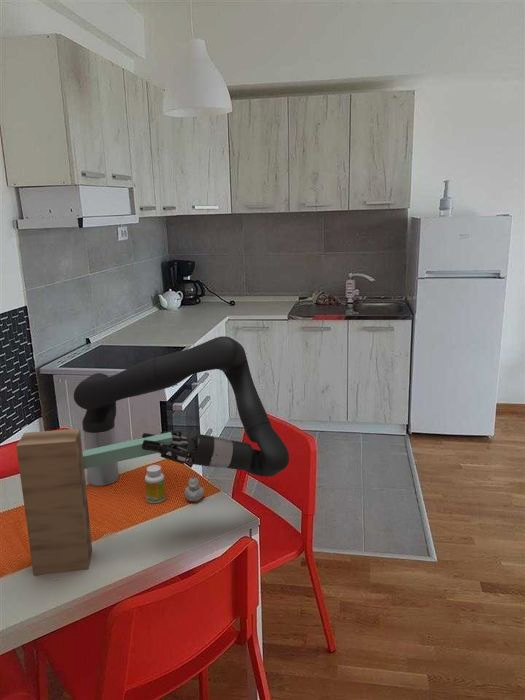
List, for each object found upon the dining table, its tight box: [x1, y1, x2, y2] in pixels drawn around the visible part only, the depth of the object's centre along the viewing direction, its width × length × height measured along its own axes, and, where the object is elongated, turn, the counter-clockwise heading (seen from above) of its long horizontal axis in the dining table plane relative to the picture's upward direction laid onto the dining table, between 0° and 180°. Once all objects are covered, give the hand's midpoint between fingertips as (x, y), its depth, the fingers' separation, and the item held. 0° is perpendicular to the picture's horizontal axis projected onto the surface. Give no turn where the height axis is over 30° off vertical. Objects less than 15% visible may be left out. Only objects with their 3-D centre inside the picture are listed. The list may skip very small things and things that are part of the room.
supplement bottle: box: [144, 464, 166, 504], centre depth 151 cm, size 5×5×10 cm
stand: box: [16, 428, 93, 576], centre depth 121 cm, size 7×12×32 cm, turn 100°
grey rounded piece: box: [184, 475, 205, 502], centre depth 151 cm, size 5×7×8 cm
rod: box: [82, 432, 173, 470], centre depth 127 cm, size 3×23×3 cm, turn 104°
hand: (142, 441), depth 127 cm, fingers closed on rod, 3 cm apart
